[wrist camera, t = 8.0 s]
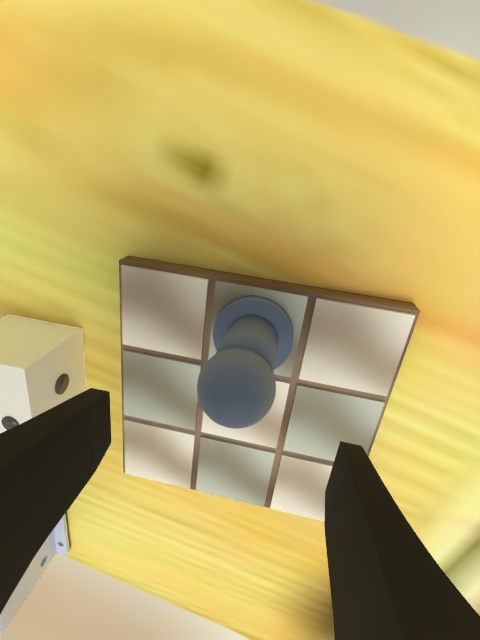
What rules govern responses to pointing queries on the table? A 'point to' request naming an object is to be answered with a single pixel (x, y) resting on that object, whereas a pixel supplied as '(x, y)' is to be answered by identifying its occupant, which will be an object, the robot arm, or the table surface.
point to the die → (38, 367)
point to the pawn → (245, 361)
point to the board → (291, 377)
